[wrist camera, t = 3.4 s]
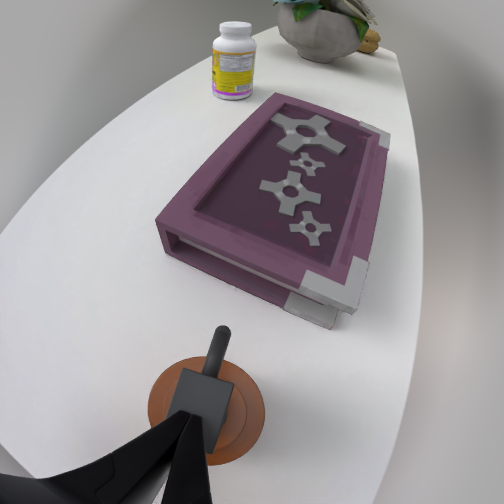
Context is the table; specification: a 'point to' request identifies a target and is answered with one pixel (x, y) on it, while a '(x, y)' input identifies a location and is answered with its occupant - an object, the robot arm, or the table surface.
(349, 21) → the flower arrangement
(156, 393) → the soap bottle
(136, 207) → the table surface
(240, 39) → the supplement bottle
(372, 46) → the pot
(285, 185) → the book
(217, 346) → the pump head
